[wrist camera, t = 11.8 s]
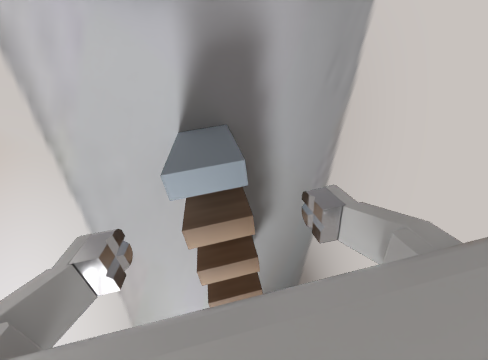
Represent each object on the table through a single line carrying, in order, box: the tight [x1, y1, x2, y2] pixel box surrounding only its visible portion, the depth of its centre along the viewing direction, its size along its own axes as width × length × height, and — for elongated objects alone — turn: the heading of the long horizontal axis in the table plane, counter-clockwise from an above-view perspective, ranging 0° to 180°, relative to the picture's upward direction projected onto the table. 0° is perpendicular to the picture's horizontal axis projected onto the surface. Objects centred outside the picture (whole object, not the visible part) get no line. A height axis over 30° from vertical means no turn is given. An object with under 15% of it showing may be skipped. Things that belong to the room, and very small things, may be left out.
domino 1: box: [182, 187, 255, 249], centre depth 18 cm, size 2×5×10 cm, turn 97°
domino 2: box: [197, 235, 260, 286], centre depth 21 cm, size 2×5×10 cm, turn 97°
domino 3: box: [208, 272, 263, 308], centre depth 23 cm, size 2×5×10 cm, turn 97°
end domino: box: [160, 125, 248, 201], centre depth 16 cm, size 2×5×10 cm, turn 97°
